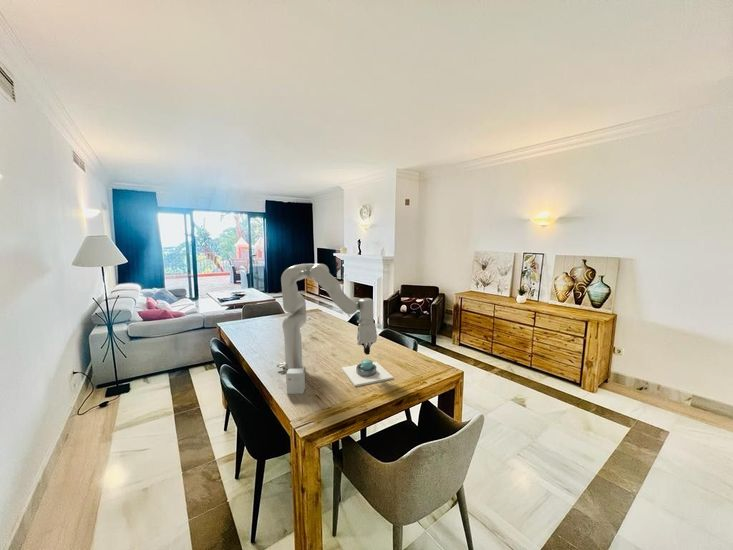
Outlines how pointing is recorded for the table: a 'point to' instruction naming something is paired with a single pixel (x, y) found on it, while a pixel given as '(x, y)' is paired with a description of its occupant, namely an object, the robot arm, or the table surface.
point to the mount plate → (359, 380)
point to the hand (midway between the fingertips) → (366, 353)
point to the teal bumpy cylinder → (367, 365)
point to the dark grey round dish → (365, 371)
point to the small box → (295, 381)
